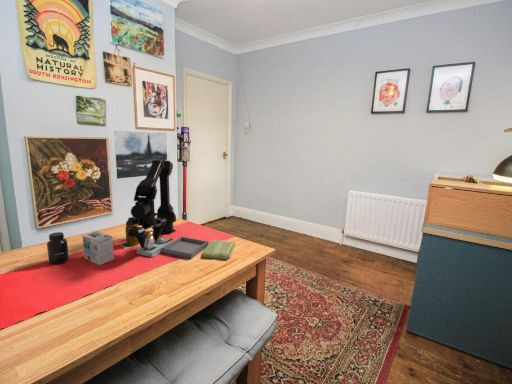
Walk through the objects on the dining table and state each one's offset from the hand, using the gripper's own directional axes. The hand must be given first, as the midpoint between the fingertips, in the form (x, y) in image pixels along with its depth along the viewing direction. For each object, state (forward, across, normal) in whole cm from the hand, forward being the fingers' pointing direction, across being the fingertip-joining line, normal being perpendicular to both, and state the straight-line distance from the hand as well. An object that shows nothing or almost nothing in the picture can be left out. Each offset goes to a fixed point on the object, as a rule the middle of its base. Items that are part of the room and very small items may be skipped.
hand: (149, 244), depth 122 cm
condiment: (+4, -4, -14) cm, 15 cm away
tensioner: (+4, -5, 0) cm, 6 cm away
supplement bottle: (+4, +22, -28) cm, 36 cm away
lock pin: (+4, 0, 0) cm, 4 cm away
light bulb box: (+4, +14, -15) cm, 21 cm away
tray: (+4, -10, +13) cm, 17 cm away
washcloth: (+5, -14, +28) cm, 32 cm away
